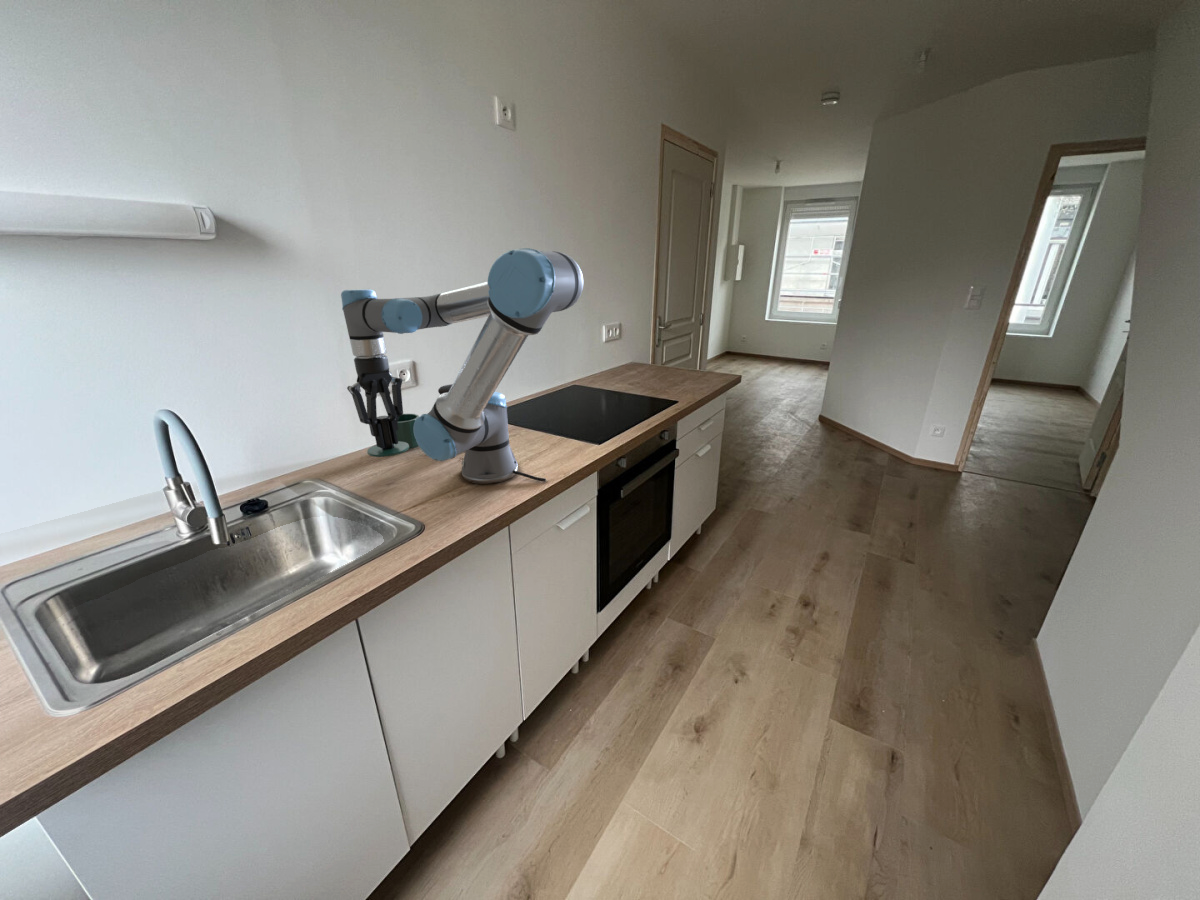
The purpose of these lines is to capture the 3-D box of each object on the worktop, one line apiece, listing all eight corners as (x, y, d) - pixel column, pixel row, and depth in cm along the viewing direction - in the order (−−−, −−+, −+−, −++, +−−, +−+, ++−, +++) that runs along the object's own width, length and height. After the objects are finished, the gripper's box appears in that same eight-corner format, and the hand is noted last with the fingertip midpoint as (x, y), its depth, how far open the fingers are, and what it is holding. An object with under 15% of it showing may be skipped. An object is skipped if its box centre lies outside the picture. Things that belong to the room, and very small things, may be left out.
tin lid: (417, 450, 121) (411, 415, 118) (380, 462, 114) (373, 425, 110) (396, 442, 127) (390, 409, 124) (360, 453, 119) (352, 418, 116)
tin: (428, 444, 147) (424, 416, 143) (402, 453, 140) (397, 424, 136) (413, 439, 152) (408, 412, 148) (386, 446, 145) (381, 418, 142)
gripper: (392, 350, 119) (407, 434, 128) (329, 359, 107) (350, 451, 116) (408, 352, 115) (422, 439, 123) (344, 362, 103) (364, 457, 112)
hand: (387, 444), depth 120 cm, fingers closed on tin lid, 3 cm apart
